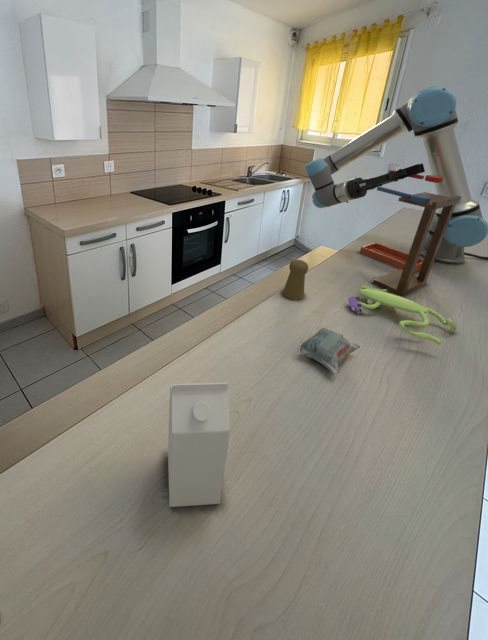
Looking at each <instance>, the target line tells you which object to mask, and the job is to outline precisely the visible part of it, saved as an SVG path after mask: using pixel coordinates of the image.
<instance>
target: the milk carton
mask: <svg viewBox="0 0 488 640" xmlns="http://www.w3.org/2000/svg"><path fill="white" fill-rule="evenodd" d="M228 386H229V383H228V382H198V383H197V382H196V383H195V382H194V383H172V384H171V385H170V386H169V415H168V416H169V417H168V443H167V444H168V445H167V450H168V451H167V463H168V464H167V466H168V467H167V469H168V473H167V474H168V506H169V508H177V507H191V506H193V507H195V506H207V505H208V506H209V505H219V504H221V499H222V491H223V484H224V477H225V469H226V462H227V455H228V450H229V449H228V447H229V441H230V434H231V422H230V408H229V396H228Z"/></svg>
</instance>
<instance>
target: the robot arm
mask: <svg viewBox="0 0 488 640" xmlns="http://www.w3.org/2000/svg"><path fill="white" fill-rule="evenodd" d="M456 108H457V98H456V95H455V93H453V91H452V90H451V89H449V88H447V87H445V86H440V85H439V86H437V85H435V86H430V87H426V88H424V89H421V90H420V91H418V92H417V93H415V94H414V95H413V96H412V97H411V98H410V99H409V100H407V101H406V102H405V103H404V104H402V105H401V106H400V107H398V108H397V109H395V110H394V111H393V112H392V115H390V116H389V117H387V118H385V119H384V120H383V121H382V122H379V123H378V124H376V125H375V126H373V127H371V128H370V129H368V130H367V131H365V132H363V133H362V134H360V135H359V136H357V137H356V138H354V139H353V140H351V141H350V142H349V141H348V143H346V144H345V145H343V146H342V147H340V148H338V149H337V150H335V151H334V152H332V153H330V154H329V155H327V156H326V157H318V158H316V159H314V160H312V161H309V162H308V163H306V164H305V166H304V169H305V171H306V174H307V176H308V178H309V180H310V182H311V185H312V186H313V189H314V191H313V193H312V196H311V199H312V203H313V204H314V206H315V208H318V209H325V208H330V207H333V206H335V205H339V204H342V203H346V204H348V203H349V201H354V200H357V199H361V198H364V197H365V196H366V195H367V193H368V191H372V190H375V189H377V188H378V187H383V186H385V185H387V184H390V183H396V182H399V181H400V180H404V179H405V178H409V177H408V176H411V175H414V174H417V175H420V174H422V173H426V169H425V166H424V163H417V164H413V165H411V166H408V167H404V168H399V169H398V170H395V171H396V172H397V173H396V172H392V173H389V172H387V173H384V174H382V175H378V176H374V177H370V178H364V179H363V178H362V177H359V176H357V177H354V178H351V179H348V180H345V181H342V182H338V183H336V184H335V181H334V179H333V177H332V175H334V174H335V173H337V172H338V171H340V170H342V169H344V168H345V167H346V166H348V165H350V164H352V163H353V162H355V161H357V160H359V159H361V158H362V157H364V156H366V155H368V154H369V153H371V152H372V151H374V150H376V149H378V148H379V147H381V146H383V145H384V144H386V143H387V142H389V141H391V140H393V139H394V138H396V137H398V136H399V135H400V136H401V134H403V133H410V132H412V131H413V135H414V138H416V139H419V140H421V143H422V147H423V151H424V154H425V157H426V161H427V165H428V169H429V172H430V175H434V176H440V177H443V181H442V183H435V182H432V183H433V187H434V191H435V194H436V195H440V196H445V197H454V196H461V199H460V201H459V203H457V204H456V205H455V208H454V210H453V213H452V216H451V218H450V221H449V223H448V226H447V229H446V231H445V234H444V236H443V239H442V242H441V244H440V247H439V250H438V252H437V255H436V257H435V260H434V262H435V261H436V262H439V263H444V264H448V265H449V264H451V265H458V264H459V265H460V264H462V263H463V261H464V260H465V256H467V257H473V258H476V259H480V260H488V256H482V255H478V254H474V253H470V252H465V248H469V247H473V246H477V245H479V244H480V243H482V242H483V241H484V240H485V239H486V238H487V236H488V223H487V222H486V220H485V219H484V218H483V214H482V210H481V205H480V202H479V201H478V200H475V199H473V198H472V196H471V195H472V194H471V192H470V188H469V183H468V180H467V176H466V171H465V168H464V164H463V160H462V157H461V152H460V148H459V145H458V141H457V136H456V133H455V128H456V127H457V125H458V124H459V119H458V115H457V110H456ZM442 209H443V208H439V209H436V212H435V215H434V218H433V220H432V223H431V226H430V229H429V231H428V234H427V237H426V240H425V242H424V245H423V248H422V251H421V253H420V256H423V257H424V258H425V255H426V253H427V250H428V247H429V245H430V242H431V239H432V236H433V234H434V231H435V228H436V226H437V223H438V220H439V217H440V215H441V212H442Z"/></svg>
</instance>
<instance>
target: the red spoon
mask: <svg viewBox="0 0 488 640" xmlns="http://www.w3.org/2000/svg"><path fill="white" fill-rule="evenodd" d="M396 171H397V170H395V169H390V170H388V173H392V172H396ZM396 173H397V172H396ZM407 178H412V179H417V180H424V181H425V182H430V183H433V182H435V183H442V181H443V177H440V176H434V175H431V174H427V175H426V174H425V175H422V174H414V175H411V176H408V177H407Z"/></svg>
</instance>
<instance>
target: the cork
mask: <svg viewBox="0 0 488 640" xmlns="http://www.w3.org/2000/svg"><path fill="white" fill-rule="evenodd" d="M288 268H289V274H288V277H287V279H286V283H285V285H284V288H283V291H282V295H283V296H284V297H286V298H287V299H288V300H292V301H301V300H303V299H304V298H305V283H306V282H305V279H306V274H307V273H308V272H309V271H308V270H309V265H308V263H307V262H306V261H304V260H302V259H293V260H291V261H290V263H289V267H288Z"/></svg>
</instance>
